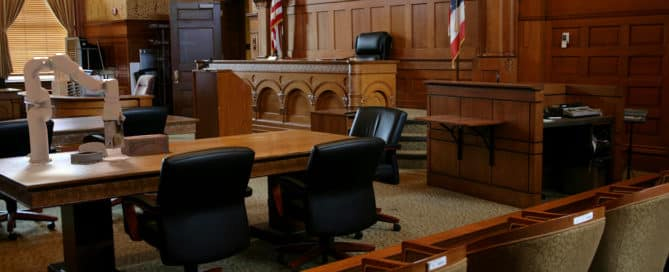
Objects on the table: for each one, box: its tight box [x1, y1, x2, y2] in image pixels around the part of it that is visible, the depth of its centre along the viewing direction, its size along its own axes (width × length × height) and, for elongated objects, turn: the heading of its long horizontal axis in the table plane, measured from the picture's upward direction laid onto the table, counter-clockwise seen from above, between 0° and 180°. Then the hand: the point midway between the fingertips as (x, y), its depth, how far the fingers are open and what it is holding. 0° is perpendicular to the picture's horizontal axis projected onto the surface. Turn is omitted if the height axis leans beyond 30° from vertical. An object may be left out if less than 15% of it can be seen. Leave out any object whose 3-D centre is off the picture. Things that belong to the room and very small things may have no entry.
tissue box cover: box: [120, 133, 170, 156], centre depth 438 cm, size 26×14×10 cm, turn 125°
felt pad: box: [99, 156, 131, 162], centre depth 407 cm, size 12×12×1 cm
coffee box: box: [103, 120, 125, 150], centre depth 406 cm, size 9×6×16 cm
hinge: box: [77, 141, 109, 157], centre depth 421 cm, size 17×5×10 cm, turn 130°
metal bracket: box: [70, 151, 104, 165], centre depth 402 cm, size 11×14×5 cm
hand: (114, 131), depth 406 cm, fingers closed on coffee box, 7 cm apart
